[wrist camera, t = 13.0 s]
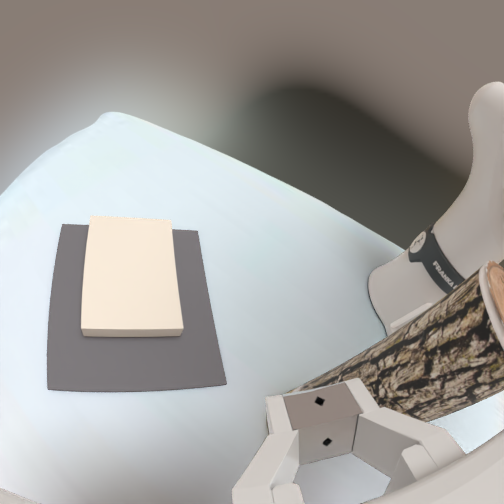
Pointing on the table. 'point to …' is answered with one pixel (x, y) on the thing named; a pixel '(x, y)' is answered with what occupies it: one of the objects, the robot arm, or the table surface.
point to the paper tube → (437, 354)
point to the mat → (130, 348)
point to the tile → (130, 279)
